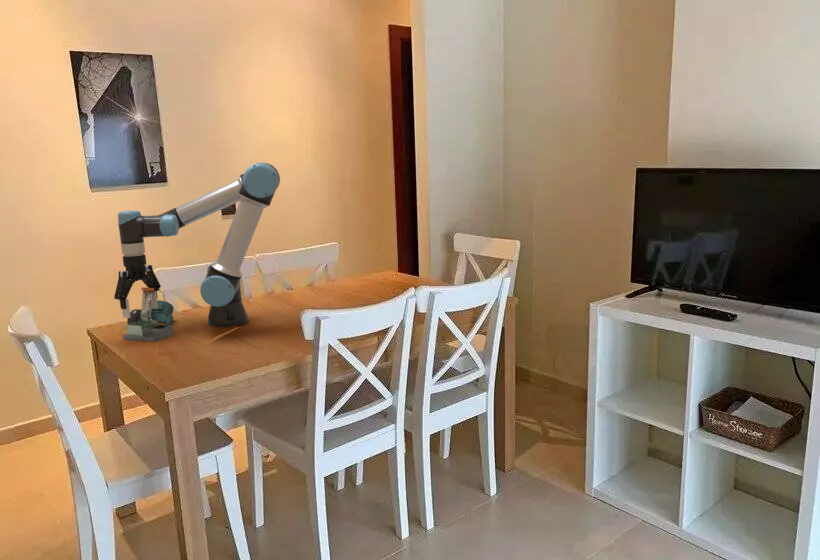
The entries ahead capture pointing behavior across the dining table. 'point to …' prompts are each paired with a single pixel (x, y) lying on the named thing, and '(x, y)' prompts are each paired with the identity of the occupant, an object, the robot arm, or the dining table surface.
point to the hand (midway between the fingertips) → (140, 313)
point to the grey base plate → (147, 331)
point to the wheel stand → (134, 316)
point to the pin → (146, 304)
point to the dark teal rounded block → (163, 312)
